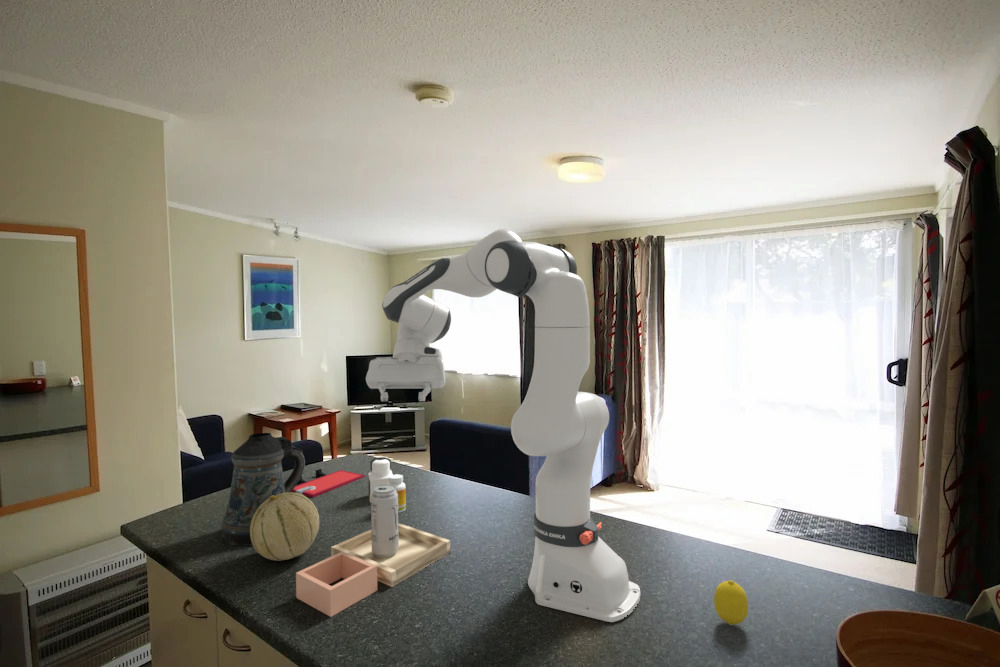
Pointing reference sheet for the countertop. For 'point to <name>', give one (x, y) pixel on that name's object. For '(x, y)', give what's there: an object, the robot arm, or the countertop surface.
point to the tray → (398, 553)
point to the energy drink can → (384, 521)
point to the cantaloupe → (284, 526)
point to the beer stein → (257, 481)
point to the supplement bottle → (399, 490)
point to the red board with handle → (325, 482)
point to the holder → (343, 594)
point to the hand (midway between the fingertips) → (402, 399)
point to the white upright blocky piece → (379, 473)
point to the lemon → (731, 602)
